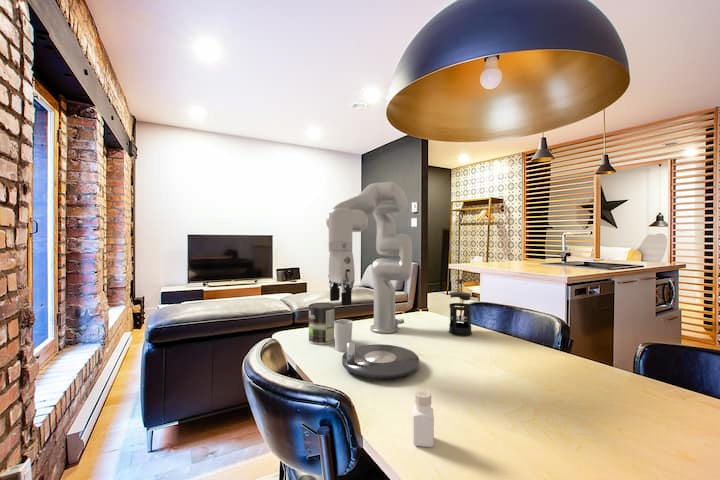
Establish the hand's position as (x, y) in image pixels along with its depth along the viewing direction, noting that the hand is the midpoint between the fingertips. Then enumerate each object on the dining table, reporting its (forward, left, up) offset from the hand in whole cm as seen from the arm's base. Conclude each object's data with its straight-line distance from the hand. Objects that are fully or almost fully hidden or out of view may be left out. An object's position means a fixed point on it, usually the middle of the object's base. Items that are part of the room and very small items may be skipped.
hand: (340, 302), depth 100 cm
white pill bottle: (+2, +42, -20) cm, 47 cm away
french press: (-61, -6, -20) cm, 64 cm away
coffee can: (-5, -26, -20) cm, 33 cm away
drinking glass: (-8, -13, -20) cm, 25 cm away
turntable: (-11, +7, -20) cm, 24 cm away
